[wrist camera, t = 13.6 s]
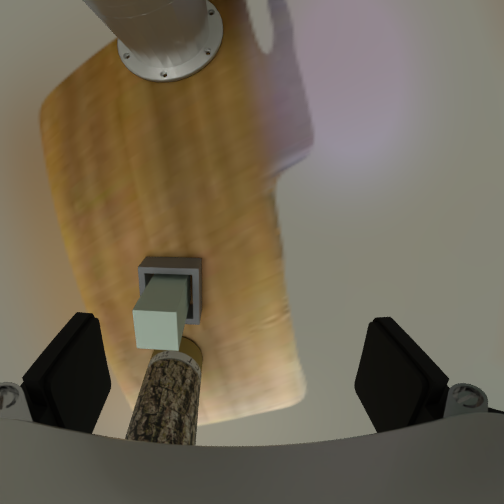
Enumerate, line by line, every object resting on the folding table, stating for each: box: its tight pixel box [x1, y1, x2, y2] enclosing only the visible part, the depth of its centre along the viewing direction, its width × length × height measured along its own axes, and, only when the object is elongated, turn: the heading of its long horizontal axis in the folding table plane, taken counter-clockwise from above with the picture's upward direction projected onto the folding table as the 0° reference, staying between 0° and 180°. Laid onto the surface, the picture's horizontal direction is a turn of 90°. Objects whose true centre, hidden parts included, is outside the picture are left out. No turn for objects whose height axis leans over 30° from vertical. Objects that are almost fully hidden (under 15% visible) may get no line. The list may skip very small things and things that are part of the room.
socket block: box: [138, 257, 202, 325], centre depth 37 cm, size 7×7×4 cm
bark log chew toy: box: [125, 337, 202, 446], centre depth 30 cm, size 7×7×25 cm
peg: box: [133, 274, 191, 351], centre depth 33 cm, size 4×4×12 cm
